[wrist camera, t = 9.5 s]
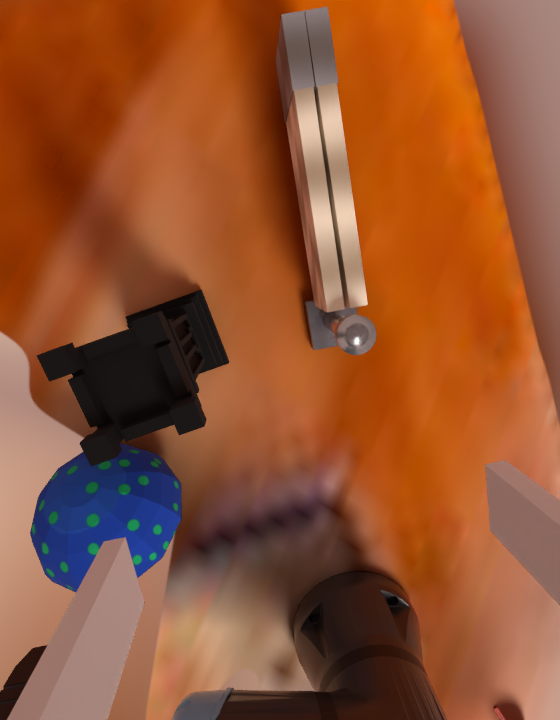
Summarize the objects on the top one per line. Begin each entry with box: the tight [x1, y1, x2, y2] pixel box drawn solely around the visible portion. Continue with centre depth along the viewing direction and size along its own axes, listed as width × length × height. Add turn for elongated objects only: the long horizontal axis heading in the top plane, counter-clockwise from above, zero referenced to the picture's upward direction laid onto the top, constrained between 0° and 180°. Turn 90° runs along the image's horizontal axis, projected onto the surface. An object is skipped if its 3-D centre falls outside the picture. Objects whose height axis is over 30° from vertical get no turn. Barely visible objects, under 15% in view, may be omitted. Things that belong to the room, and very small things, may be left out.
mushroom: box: [30, 443, 182, 592], centre depth 42 cm, size 14×14×15 cm
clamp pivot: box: [304, 299, 376, 355], centre depth 39 cm, size 5×5×11 cm
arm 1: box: [304, 7, 368, 308], centre depth 37 cm, size 22×2×7 cm, turn 11°
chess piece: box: [37, 290, 229, 467], centre depth 34 cm, size 8×8×20 cm
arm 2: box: [275, 11, 345, 312], centre depth 37 cm, size 22×2×7 cm, turn 10°
